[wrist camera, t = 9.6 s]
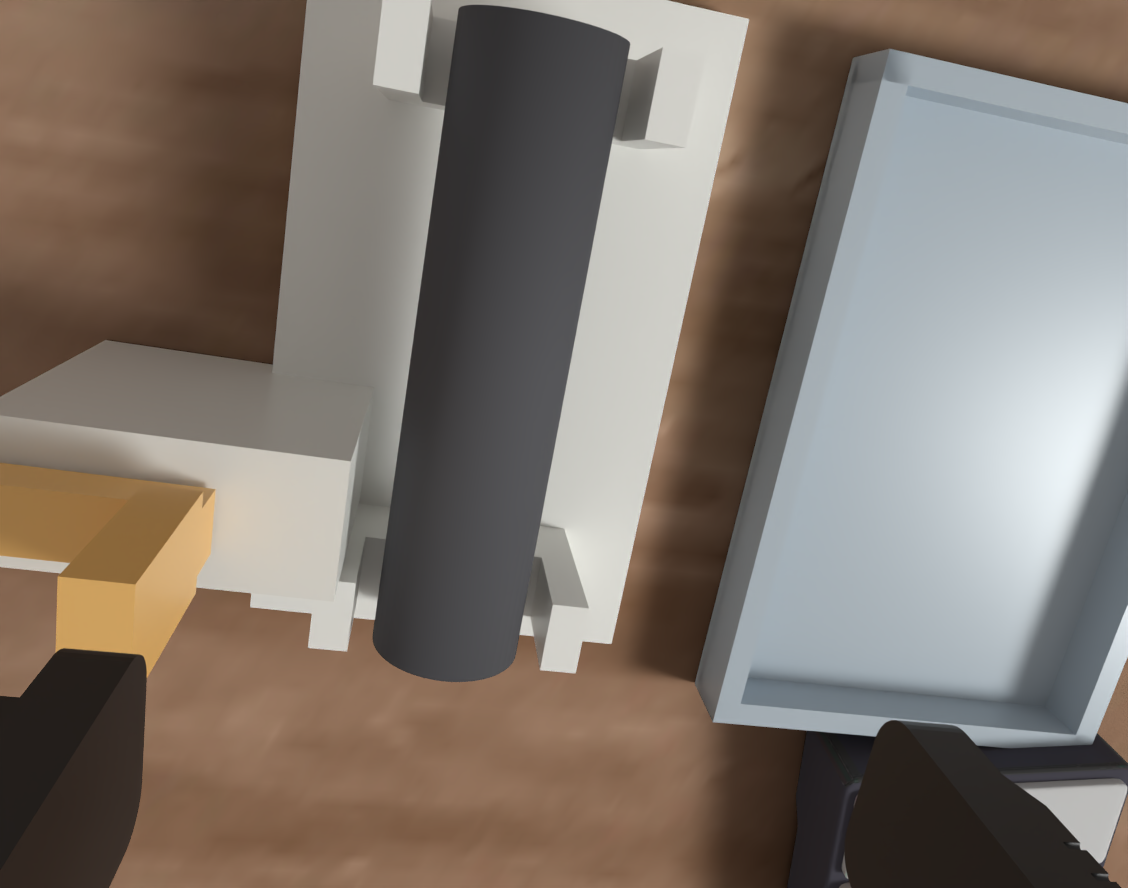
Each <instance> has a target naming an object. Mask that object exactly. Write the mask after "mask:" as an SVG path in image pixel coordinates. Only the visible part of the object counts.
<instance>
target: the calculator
mask: <svg viewBox="0 0 1128 888" xmlns="http://www.w3.org/2000/svg"><path fill="white" fill-rule="evenodd" d="M875 738H876V737H875V736H864V735H853V734H841V733H830V732H819V731H807V733H806V739H805V745H804V751H803V757H802V762H801V768H800V774H799V780H798V786H797V792H796V805H797V820H798V828H797V834H796V840H795V846H794V851H793V857H792V863H791V869H790V874H789V880H788V886H787V888H851V886H850V883H849V879H848V876H847V871H846V866H845V852H844V847H845V837H846V831H847V827H848V824H849V821H850V818H851V814H852V811H853V808H854V805H855V802H856V798H857V795H858V792H859V789H860V786H861V782H862V779H863V776H864V773H865V770H866V766H867V763H868V760H869V757H870V754H871V750H872V747H873V744H874V741H875ZM978 748H979V749H980V750H981V751H982V752H983V753H984V754H985V755H986V757H987V758H988V759H989V760H990V761H991V762H992V763H993V764H994V766H995V767H996V768H997V769H998V770H999V771H1000V772H1001V773H1002V774H1003V775H1004V776H1005V777H1007V778H1008V779H1010V780H1011V781H1012V782H1014V783H1015V784H1017V785H1018V786H1019V787H1021V788H1022V789H1023V790H1025V791H1026V792H1028V793H1029V794H1030V795H1032V796H1033V797H1035V798H1036V799H1037V800H1039V801H1040V802H1042V803H1043V804H1044V805H1046V806H1047V807H1048V808H1049V809H1050V810H1051V812H1052V813H1053V814H1054V815H1055V816H1056V817H1057V818H1058V819H1059V820H1060V821H1061V822H1062V824H1063V825H1064V826H1065V827H1066V828H1067V829H1068V830H1069V831H1070V832H1071V833H1072V835H1073V836H1074V837H1075V838H1076V839H1077V840H1078V841H1079V842H1080V849H1081V850H1087V851H1088V852H1089V853H1090V854H1091V855H1092V856H1093V857H1094V859H1095V860H1096V861H1097V862H1098V863H1099V864H1100V865H1101V866H1102V867H1103V866H1104V863H1105V860H1106V857H1107V854H1108V851H1109V848H1110V845H1111V842H1112V839H1113V836H1114V833H1115V830H1116V827H1117V824H1118V821H1119V818H1120V815H1121V812H1122V809H1123V806H1124V803H1125V800H1126V797H1127V794H1128V763H1127V762H1126V761H1125V760H1124V759H1123V758H1122V757H1121V756H1120V755H1119V754H1118V753H1117V752H1116V751H1115V750H1114V749H1113V748H1112V747H1111V746H1110V745H1109V744H1108V743H1107V742H1106V741H1105V740H1104V739H1103V738H1101V737H1100V736H1099V735H1098V734H1096V736H1095V739H1094V741H1093V744H1092V745H1072V746H1050V747H1028V748H999V747H988V746H978Z"/></svg>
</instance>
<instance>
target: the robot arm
mask: <svg viewBox="0 0 1128 888" xmlns="http://www.w3.org/2000/svg"><path fill="white" fill-rule="evenodd" d="M146 682H147V669H146V662H145V659H144V657H143V656H142V655H140V654H128V653H116V652H104V651H93V650H81V649H69V648H63V649H60V650H59V651H57V652H56V653H55V654H54V655H53V657H52V658H51V659H50V660H49V662H48V663H47V664H46V665H45V667H44V668H43V669H42V670H41V672H40V673H39V674H38V675H37V677H36V678H35V679H34V680H33V682H32V683H31V684H30V685H29V687H28V688H27V689H26V690H25V692H24V693H23V694H22V695H21V697H20V698H19V697H6V696H0V888H109V886H110V884H111V882H112V880H113V878H114V876H115V874H116V871H117V869H118V867H119V865H120V863H121V861H122V859H123V856H124V854H125V852H126V850H127V847H128V844H129V842H130V839H131V835H132V832H133V829H134V825H135V821H136V817H137V813H138V808H139V802H140V796H141V788H142V770H143V748H144V726H145V704H146ZM844 852H845V866H846V871H847V876H848V879H849V883H850V886H851V888H1121V887H1120V886H1119V885H1118V884H1117V883H1116V882H1110V881H1109V879H1108V873H1107V872H1106V871H1105V869H1104V868H1103V867H1102V866H1101V865H1100V864H1099V863H1098V862H1097V861H1096V860H1095V859H1094V857H1093V856H1092V855H1091V854H1090V853H1089V852H1088V851H1087V850H1081V849H1080V842H1079V841H1078V840H1077V839H1076V838H1075V837H1074V836H1073V835H1072V833H1071V832H1070V831H1069V830H1068V829H1067V828H1066V827H1065V826H1064V825H1063V824H1062V822H1061V821H1060V820H1059V819H1058V818H1057V817H1056V816H1055V815H1054V814H1053V813H1052V812H1051V810H1050V809H1049V808H1048V807H1047V806H1046V805H1044V804H1043V803H1042V802H1040V801H1039V800H1037V799H1036V798H1035V797H1033V796H1032V795H1030V794H1029V793H1028V792H1026V791H1025V790H1023V789H1022V788H1021V787H1019V786H1018V785H1017V784H1015V783H1014V782H1012V781H1011V780H1010V779H1008V778H1007V777H1005V776H1004V775H1003V774H1002V773H1001V772H1000V771H999V770H998V769H997V768H996V767H995V766H994V764H993V763H992V762H991V761H990V760H989V759H988V758H987V757H986V755H985V754H984V753H983V752H982V751H981V750H980V749H979V748H978V746H977V745H976V744H975V743H974V742H973V741H972V740H971V739H970V737H969V736H968V735H967V734H966V733H965V732H964V731H963V730H962V729H960V728H959V727H957V726H954V725H948V724H936V723H924V722H912V721H900V720H890V721H887V722H886V723H885V724H883V725H882V727H881V728H880V729H879V731H878V733H877V735H876V738H875V741H874V744H873V747H872V750H871V754H870V757H869V760H868V763H867V766H866V770H865V773H864V776H863V779H862V782H861V786H860V789H859V792H858V795H857V798H856V802H855V805H854V808H853V811H852V814H851V818H850V821H849V824H848V827H847V831H846V837H845V847H844Z"/></svg>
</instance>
